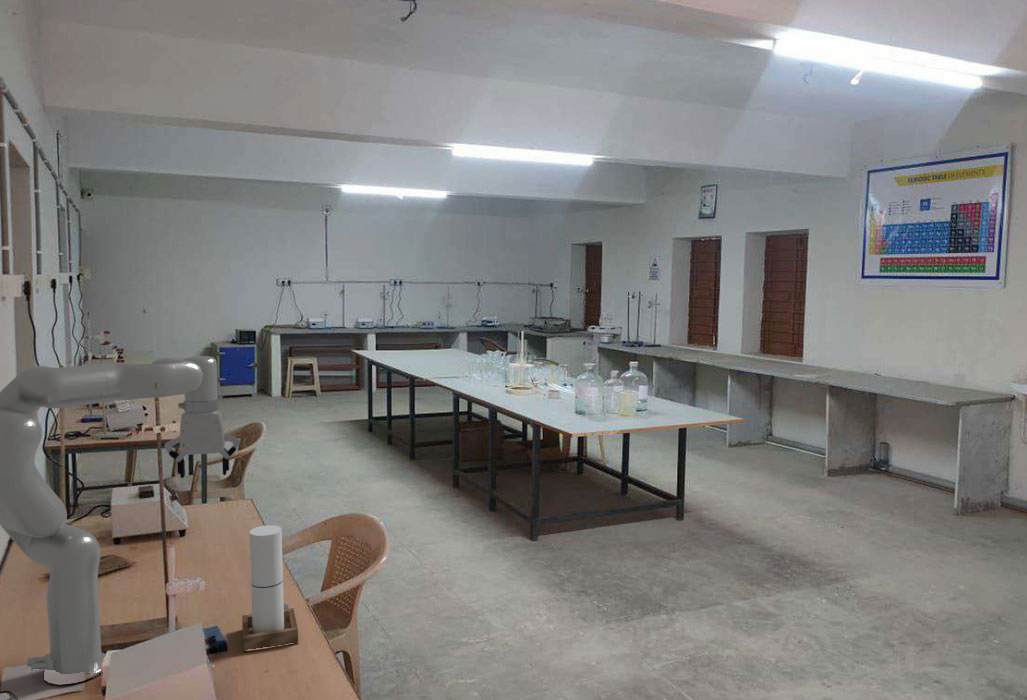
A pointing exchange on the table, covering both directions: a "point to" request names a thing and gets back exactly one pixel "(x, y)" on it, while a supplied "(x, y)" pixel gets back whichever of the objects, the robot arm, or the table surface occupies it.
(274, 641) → the walnut stand
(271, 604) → the cylindrical container
